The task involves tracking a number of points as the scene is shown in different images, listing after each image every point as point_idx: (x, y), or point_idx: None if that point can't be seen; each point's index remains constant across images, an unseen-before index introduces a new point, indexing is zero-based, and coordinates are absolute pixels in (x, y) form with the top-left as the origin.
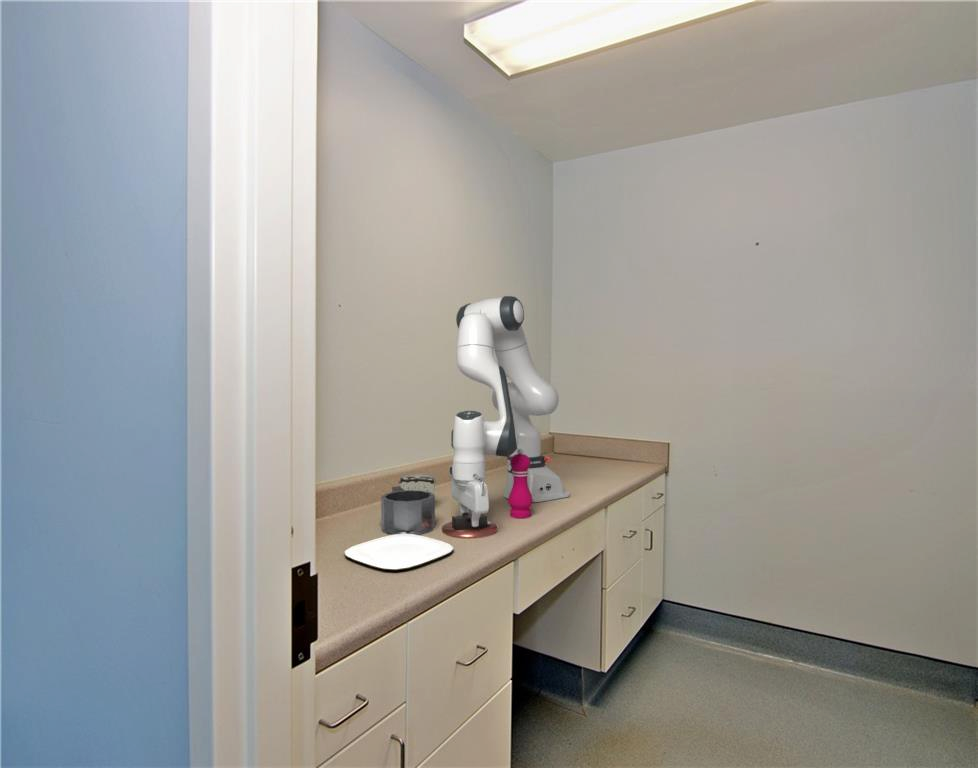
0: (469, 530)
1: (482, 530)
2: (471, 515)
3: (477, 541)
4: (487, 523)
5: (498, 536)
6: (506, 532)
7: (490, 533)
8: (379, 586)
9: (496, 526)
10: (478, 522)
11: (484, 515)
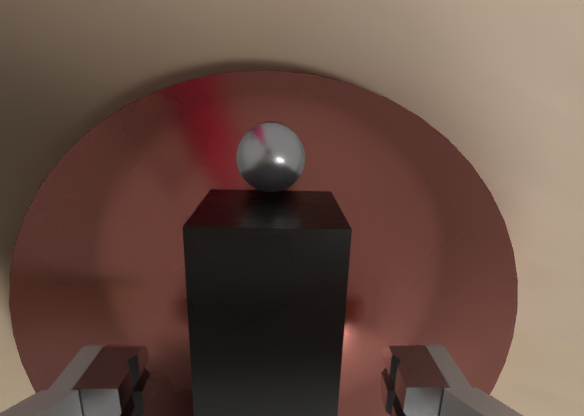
0: (360, 364)
1: (416, 273)
2: (242, 390)
3: (563, 359)
4: (294, 178)
5: (554, 170)
6: (491, 43)
7: (502, 228)
8: None
9: (358, 94)
10: (456, 365)
11: (312, 253)
